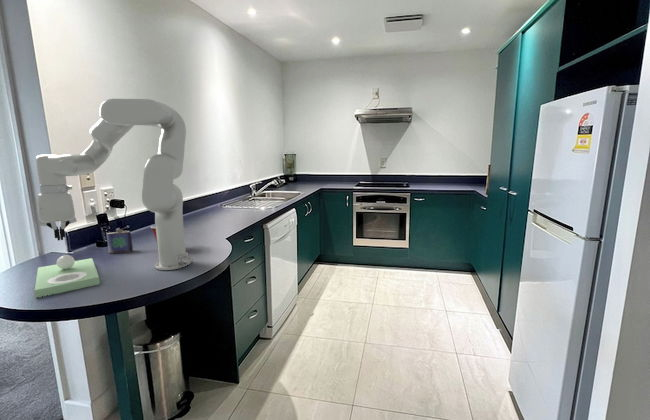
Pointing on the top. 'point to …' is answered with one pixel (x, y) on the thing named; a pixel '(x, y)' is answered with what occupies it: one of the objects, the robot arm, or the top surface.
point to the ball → (65, 262)
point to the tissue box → (65, 278)
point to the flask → (119, 241)
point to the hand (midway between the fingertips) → (60, 239)
